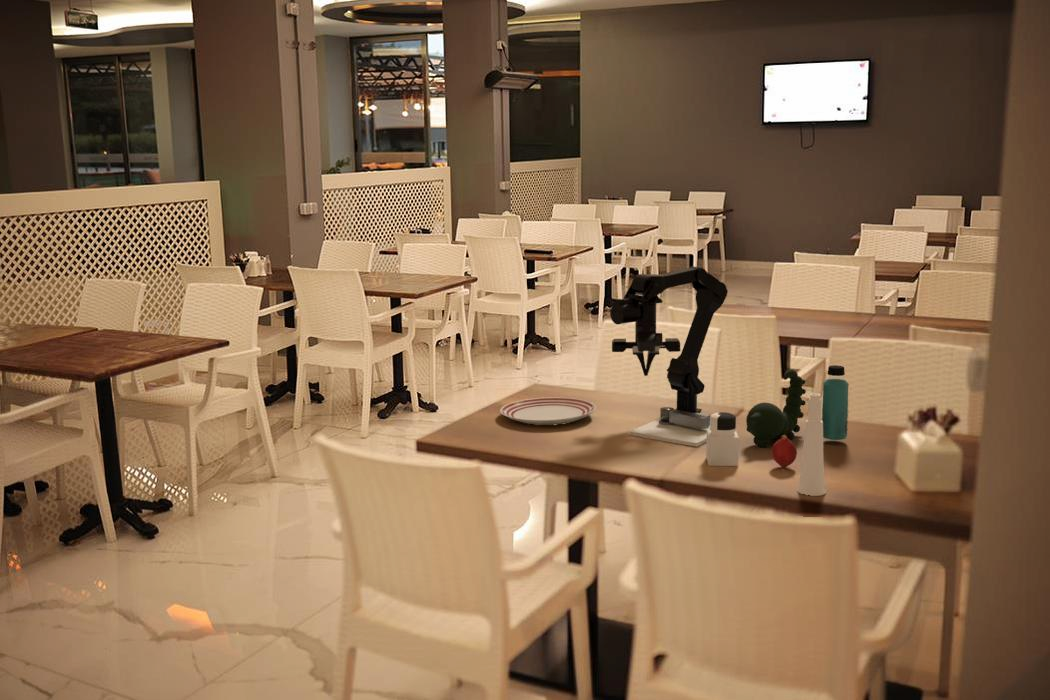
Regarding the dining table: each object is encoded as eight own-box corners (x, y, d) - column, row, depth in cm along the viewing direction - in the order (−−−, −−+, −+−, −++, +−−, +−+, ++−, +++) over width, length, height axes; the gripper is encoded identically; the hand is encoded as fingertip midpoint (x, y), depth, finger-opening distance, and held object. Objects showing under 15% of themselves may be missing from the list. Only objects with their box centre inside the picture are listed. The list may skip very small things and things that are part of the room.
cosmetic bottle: (813, 498, 219) (817, 399, 214) (791, 491, 223) (794, 394, 219) (831, 492, 222) (835, 394, 218) (809, 485, 227) (812, 389, 223)
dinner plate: (487, 427, 281) (486, 415, 280) (516, 404, 306) (516, 393, 306) (583, 433, 273) (583, 421, 272) (605, 409, 298) (605, 398, 298)
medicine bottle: (735, 457, 248) (736, 410, 246) (738, 466, 241) (739, 417, 239) (706, 457, 249) (706, 410, 247) (708, 466, 242) (709, 417, 240)
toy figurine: (779, 434, 274) (731, 447, 255) (784, 365, 272) (736, 372, 253) (811, 440, 268) (765, 453, 249) (817, 369, 265) (770, 377, 247)
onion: (777, 462, 244) (778, 430, 242) (800, 466, 240) (801, 434, 239) (766, 468, 240) (767, 435, 238) (789, 472, 236) (790, 439, 234)
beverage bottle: (848, 446, 256) (851, 369, 252) (821, 445, 257) (824, 368, 254) (845, 439, 262) (849, 363, 259) (819, 438, 264) (822, 363, 260)
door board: (663, 420, 284) (663, 406, 283) (728, 431, 272) (728, 416, 271) (629, 435, 270) (629, 420, 269) (696, 446, 258) (697, 431, 257)
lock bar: (657, 420, 277) (657, 408, 277) (666, 417, 280) (666, 406, 279) (701, 430, 267) (701, 418, 266) (709, 427, 269) (709, 415, 269)
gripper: (611, 325, 272) (612, 382, 275) (681, 325, 270) (681, 382, 273) (611, 318, 283) (612, 373, 286) (679, 318, 281) (679, 372, 284)
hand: (645, 375), depth 282 cm, fingers closed
